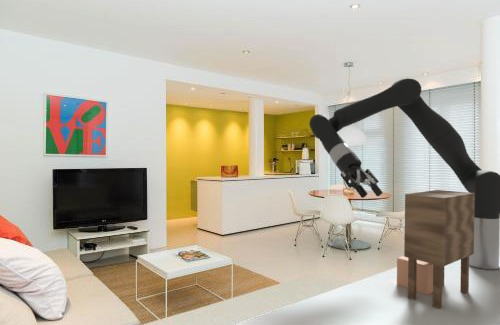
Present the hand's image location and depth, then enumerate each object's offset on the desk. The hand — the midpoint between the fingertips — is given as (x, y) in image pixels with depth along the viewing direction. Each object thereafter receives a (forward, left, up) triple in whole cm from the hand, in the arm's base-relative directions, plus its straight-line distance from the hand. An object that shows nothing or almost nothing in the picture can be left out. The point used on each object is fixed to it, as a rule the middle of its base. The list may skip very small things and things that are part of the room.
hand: (372, 195), depth 108 cm
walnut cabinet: (0, +21, -25) cm, 33 cm away
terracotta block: (0, +14, -26) cm, 29 cm away
